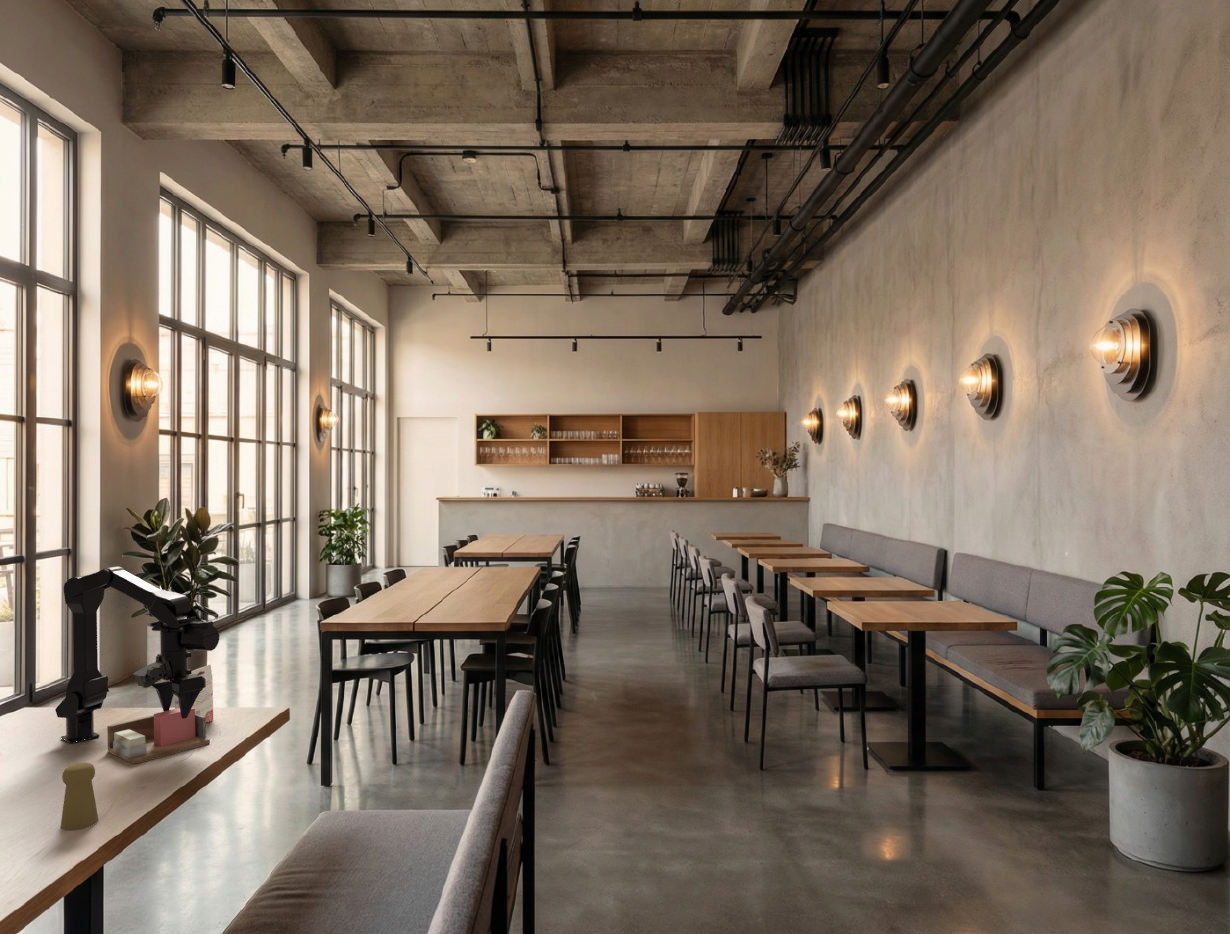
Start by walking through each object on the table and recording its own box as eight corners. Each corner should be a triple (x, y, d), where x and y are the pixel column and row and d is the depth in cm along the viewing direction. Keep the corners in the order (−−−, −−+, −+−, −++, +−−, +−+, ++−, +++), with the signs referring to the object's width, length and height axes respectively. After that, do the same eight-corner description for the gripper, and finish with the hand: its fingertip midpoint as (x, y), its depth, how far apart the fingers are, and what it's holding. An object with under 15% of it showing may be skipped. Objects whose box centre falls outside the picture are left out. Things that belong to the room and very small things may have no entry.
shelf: (107, 751, 199) (107, 725, 199) (181, 732, 212) (181, 708, 212) (134, 764, 190) (133, 737, 190) (209, 743, 204) (209, 718, 204)
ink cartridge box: (197, 719, 224) (196, 663, 223) (214, 720, 223) (213, 663, 222) (174, 729, 215) (173, 671, 215) (191, 730, 214) (190, 671, 214)
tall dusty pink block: (154, 743, 201) (153, 713, 201) (188, 734, 208) (187, 705, 208) (160, 746, 199) (160, 716, 199) (195, 737, 205) (194, 708, 205)
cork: (71, 817, 162) (70, 759, 162) (104, 816, 163) (103, 758, 162) (53, 831, 156) (52, 771, 156) (88, 829, 157) (87, 769, 156)
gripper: (120, 650, 203) (121, 716, 203) (156, 661, 191) (158, 730, 191) (169, 642, 211) (170, 705, 211) (206, 651, 200) (207, 718, 200)
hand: (175, 714), depth 203 cm, fingers open, 9 cm apart
